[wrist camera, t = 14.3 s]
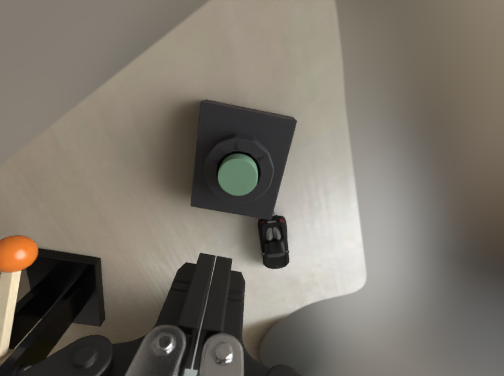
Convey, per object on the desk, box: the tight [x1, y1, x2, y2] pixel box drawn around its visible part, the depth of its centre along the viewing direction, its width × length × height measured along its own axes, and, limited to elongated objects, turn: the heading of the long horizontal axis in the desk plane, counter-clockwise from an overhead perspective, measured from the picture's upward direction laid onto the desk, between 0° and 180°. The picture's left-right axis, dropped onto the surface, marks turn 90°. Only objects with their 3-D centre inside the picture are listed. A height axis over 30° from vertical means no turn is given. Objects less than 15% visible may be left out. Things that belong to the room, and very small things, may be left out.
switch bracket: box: [0, 248, 105, 376], centre depth 29 cm, size 12×9×13 cm
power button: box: [218, 153, 258, 196], centre depth 23 cm, size 4×4×2 cm
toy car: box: [258, 215, 289, 269], centre depth 30 cm, size 8×3×2 cm, turn 7°
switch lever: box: [0, 235, 38, 366], centre depth 24 cm, size 15×4×4 cm, turn 169°
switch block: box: [191, 100, 297, 220], centre depth 25 cm, size 11×9×4 cm
